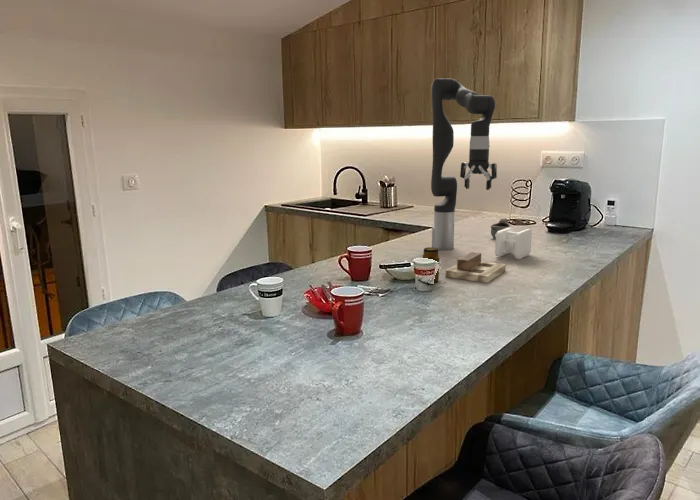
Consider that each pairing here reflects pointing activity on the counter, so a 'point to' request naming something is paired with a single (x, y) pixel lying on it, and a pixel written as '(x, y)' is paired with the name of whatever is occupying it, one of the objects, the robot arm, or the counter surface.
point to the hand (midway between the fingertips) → (477, 189)
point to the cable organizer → (513, 242)
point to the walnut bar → (469, 261)
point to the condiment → (433, 254)
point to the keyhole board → (477, 272)
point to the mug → (499, 226)
